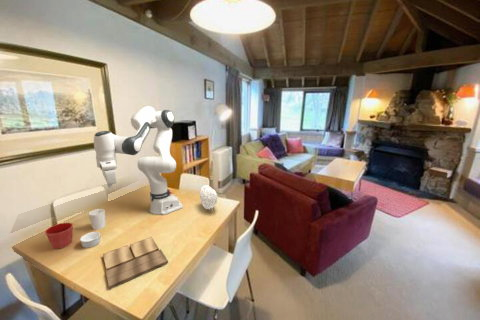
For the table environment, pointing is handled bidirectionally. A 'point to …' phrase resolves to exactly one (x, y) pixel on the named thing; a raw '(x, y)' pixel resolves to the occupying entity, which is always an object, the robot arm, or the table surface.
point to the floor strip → (135, 268)
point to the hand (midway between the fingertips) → (110, 187)
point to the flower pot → (60, 235)
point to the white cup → (97, 218)
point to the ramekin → (90, 239)
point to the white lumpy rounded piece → (208, 197)
